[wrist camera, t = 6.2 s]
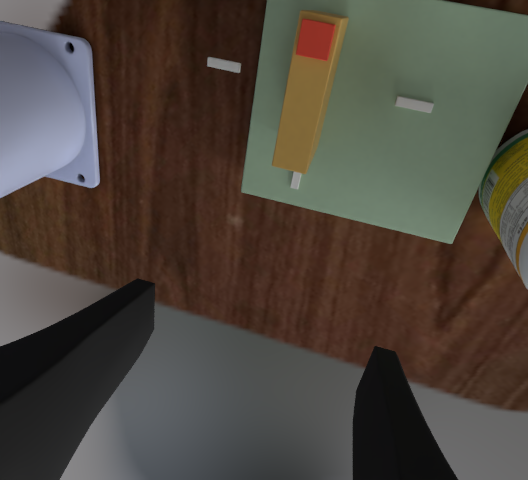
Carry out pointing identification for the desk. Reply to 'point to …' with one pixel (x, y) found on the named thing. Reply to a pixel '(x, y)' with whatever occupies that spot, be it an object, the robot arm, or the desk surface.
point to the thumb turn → (308, 88)
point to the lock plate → (393, 110)
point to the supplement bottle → (509, 199)
